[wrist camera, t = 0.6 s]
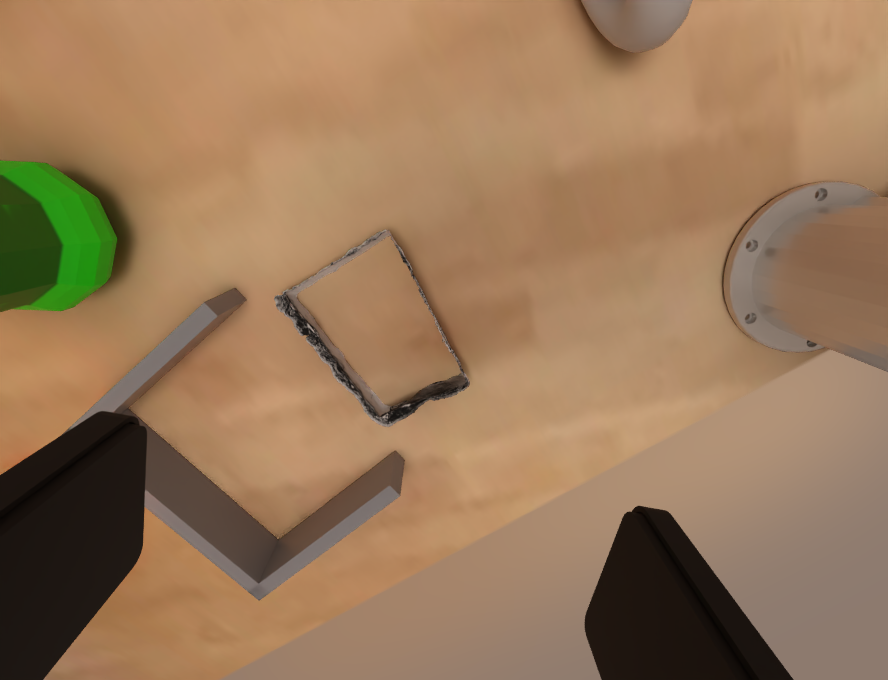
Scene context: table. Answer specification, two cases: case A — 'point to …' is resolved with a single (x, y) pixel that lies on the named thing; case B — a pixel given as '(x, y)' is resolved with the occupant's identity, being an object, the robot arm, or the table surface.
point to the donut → (637, 21)
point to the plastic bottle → (50, 239)
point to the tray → (208, 508)
